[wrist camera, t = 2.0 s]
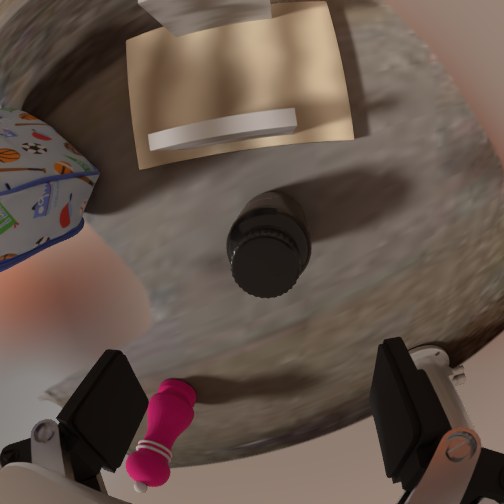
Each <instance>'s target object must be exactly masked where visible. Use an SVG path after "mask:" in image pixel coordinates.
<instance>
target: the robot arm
mask: <svg viewBox="0 0 504 504" xmlns="http://www.w3.org/2000/svg"><path fill="white" fill-rule="evenodd" d="M463 372H464V367H463V366H458V367H455V368H453V369H452V368H450V367H449V358H448V355H447V353H446V352H445V350H443V349H442V348H441V347H439V346H435V345H425V346H420V347H417V348H414V349H412V350H410V351H408V350H407V348H406V346H405V344H404V342H403V340H402V338H401V337H395V338H390V339H385V340H384V341H383V344H380V345H379V346H378V352H377V358H376V364H375V370H374V375H373V381H372V386H371V391H370V405H371V409H372V413H373V417H374V421H375V425H376V429H377V434H378V438H379V442H380V447H381V451H382V456H383V461H384V466H385V471H386V475H387V477H388V478H391V477H392V481H393V483H397V482H401V483H402V488H403V489H404V490H405V491H404V492H403V494H402V495H401V497H400V498H399V500H398V501H397V503H396V504H504V454H502V453H499V452H496V451H492V450H489V449H486V448H484V447H483V445H482V443H481V440H480V438H479V436H478V434H477V431H476V429H475V427H474V425H473V423H472V421H471V419H470V417H469V415H468V413H467V411H466V409H465V407H464V405H463V403H462V401H461V399H460V397H459V395H458V393H457V391H456V389H455V387H454V386H458V385H461V384H464V383H465V380H466V377H465V374H464V373H463ZM148 404H149V401H148V398H147V396H146V394H145V393H144V391H143V389H142V387H141V385H140V383H139V381H138V380H137V378H136V376H135V374H134V372H133V370H132V368H131V366H130V364H129V362H128V360H127V357H126V356H125V355H124V354H123V353H122V352H121V351H120V350H111V349H108V350H106V351H105V352H104V353H103V354H102V356H101V357H100V358H99V360H98V361H97V362H96V364H95V365H94V366H93V368H92V369H91V370H90V372H89V373H88V374H87V376H86V377H85V378H84V380H83V381H82V382H81V384H80V385H79V386H78V388H77V389H76V391H75V392H74V393H73V395H72V396H71V398H70V399H69V400H68V402H67V403H66V405H65V406H64V407H63V409H62V410H61V412H60V413H59V415H58V416H57V417H56V418H57V420H58V421H59V422H60V423H59V424H57V423H56V422H55V421H53V420H51V419H45V420H42V421H40V422H38V423H37V424H36V425H35V426H34V427H33V429H32V431H31V438H29V439H26V440H23V441H20V442H16V443H13V444H10V445H8V446H6V447H5V448H3V450H2V452H1V454H0V504H131V503H128V502H125V501H123V500H119V499H117V498H114V497H111V496H109V495H108V494H107V491H106V488H105V485H104V482H103V479H102V476H101V473H100V470H101V468H103V469H104V470H107V471H110V472H113V473H115V471H116V469H117V468H119V467H120V466H121V464H122V462H123V459H124V457H125V455H126V453H127V451H128V448H129V446H130V444H131V442H132V440H133V438H134V435H135V433H136V431H137V429H138V427H139V425H140V423H141V420H142V418H143V416H144V414H145V412H146V410H147V408H148Z"/></svg>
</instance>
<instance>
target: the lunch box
mask: <svg viewBox="0 0 504 504" xmlns="http://www.w3.org/2000/svg"><path fill="white" fill-rule="evenodd" d="M99 175H100V173H99V171H98V169H97V168H96V167H95V166H94V165H92V164H91V163H90V162H89V161H88V160H87V159H86V158H85V157H84V156H83V155H82V154H81V153H80V152H79V151H78V150H77V149H76V148H74V147H73V146H72V145H71V144H70V143H68V142H67V141H66V140H65V139H64V138H63V137H61V136H60V135H59V134H58V132H57V131H56V130H55V129H54V128H53V127H51V126H49V125H48V124H46V123H44V122H43V121H41V120H39V119H37V118H36V117H34V116H32V115H30V114H28V113H27V112H24V111H21V110H16V109H8V108H2V109H0V272H2V271H4V270H6V269H8V268H10V267H12V266H14V265H16V264H18V263H20V262H22V261H24V260H26V259H27V258H29V257H31V256H32V255H34V254H36V253H38V252H40V251H42V250H44V249H46V248H48V247H50V246H52V245H54V244H57V243H59V242H61V241H64V240H67V239H69V238H71V237H73V236H74V235H76V234H78V233H79V232H80V231H81V230H82V228H83V226H84V218H83V217H82V216H83V212H84V209H85V207H86V204H87V202H88V200H89V198H90V195H91V193H92V190H93V188H94V186H95V183H96V181H97V179H98V177H99Z"/></svg>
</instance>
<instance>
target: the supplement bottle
mask: <svg viewBox="0 0 504 504" xmlns="http://www.w3.org/2000/svg"><path fill="white" fill-rule="evenodd" d="M226 249H227V255H228V259H229V261H230V264H231V271H232V276H233V277H234V278H235V282H236V283H238V285H239V287H240V288H242V289H243V290H244V291H245V292H247V293H248V294H250V295H254V296H255V297H260V298H271V297H277V296H281V295H282V294H283V293H287V292H288V290H289V289H292V287H293V285H294V284H296V280H297V279H298V278H299V276H300V275H301V274H302V272H303V271H304V270H305V268H306V267H307V265H308V262H309V260H310V256H311V238H310V234H309V230H308V226H307V222H306V219H305V216H304V213H303V210H302V209H301V207H300V206H299V204H298V203H297V202H296V201H295V200H294V199H293V198H291V197H290V196H288V195H286V194H283V193H279V192H266V193H263V194H260V195H258V196H256V197H254V198H253V199H252V200H251V201H250V202H249V203H248V204H247V205H246V206H245V208H244V209H243V210H242V212H241V213H240V215H239V216H238V218H237V219H236V221H235V222H234V223H233V225H232V227H231V229H230V231H229V234H228V237H227V244H226Z"/></svg>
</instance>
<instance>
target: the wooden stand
mask: <svg viewBox="0 0 504 504" xmlns="http://www.w3.org/2000/svg"><path fill="white" fill-rule="evenodd" d="M138 4H139V5H140V6H141V7H142V8H144V9H145V10H146V11H147V12H148V13H149V14H150V15H152V16H153V17H154V18H155V19H156V20H157V21H158V22H160V23H161V24H162V25H163V26H164V27H161V28H158V29H155V30H152V31H149V32H146V33H144V34H141V35H139V36H136V37H133V38H131V39H129V40H126V55H127V72H128V85H129V96H130V106H131V115H132V124H133V132H134V139H135V146H136V153H137V159H138V165H139V170H142V169H147V168H152V167H156V166H160V165H165V164H169V163H174V162H179V161H184V160H189V159H194V158H199V157H205V156H210V155H216V154H222V153H228V152H235V151H241V150H248V149H256V148H264V147H272V146H281V145H291V144H301V143H314V142H328V141H348V140H354V133H353V126H352V118H351V111H350V105H349V99H348V93H347V87H346V81H345V76H344V71H343V66H342V61H341V57H340V52H339V48H338V43H337V39H336V35H335V31H334V27H333V23H332V20H331V16H330V13H329V9H328V6H327V2H326V1H305V2H285V3H273V4H270V0H138Z"/></svg>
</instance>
